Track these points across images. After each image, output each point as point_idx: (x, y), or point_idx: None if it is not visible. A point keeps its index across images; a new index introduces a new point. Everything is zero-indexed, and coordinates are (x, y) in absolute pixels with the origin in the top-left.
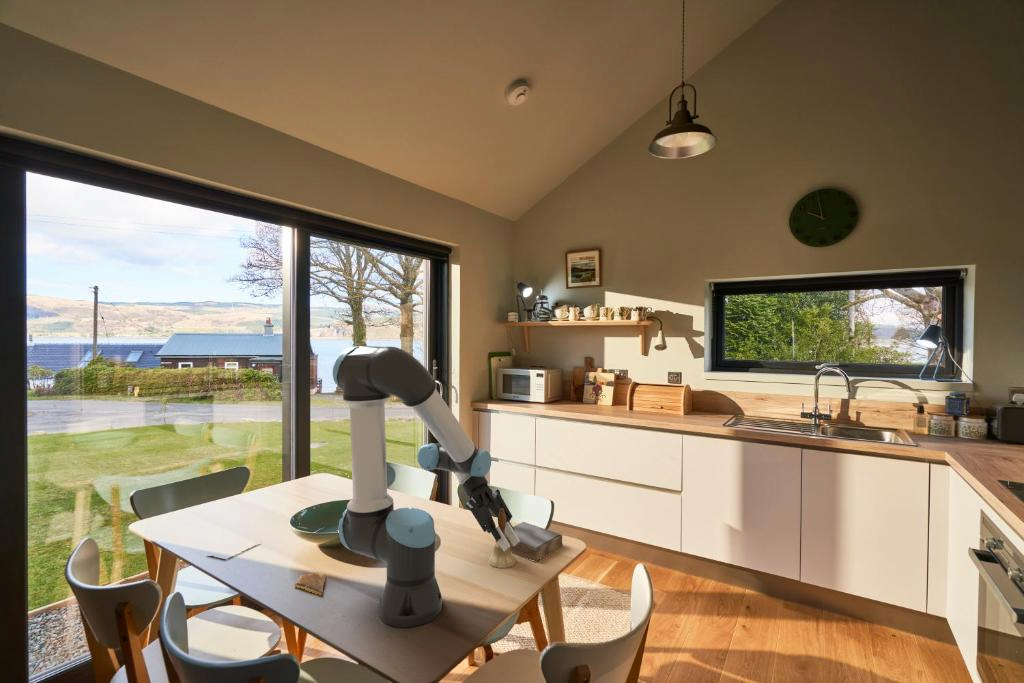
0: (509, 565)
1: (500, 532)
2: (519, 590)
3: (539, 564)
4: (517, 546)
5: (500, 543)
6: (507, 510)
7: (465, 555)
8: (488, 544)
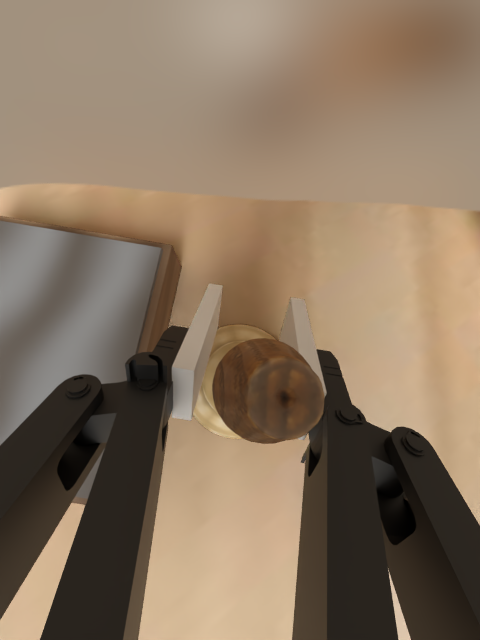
0: (261, 330)
1: (314, 356)
2: (369, 231)
3: (189, 249)
4: (152, 349)
5: None
6: (28, 450)
7: (274, 559)
8: None
